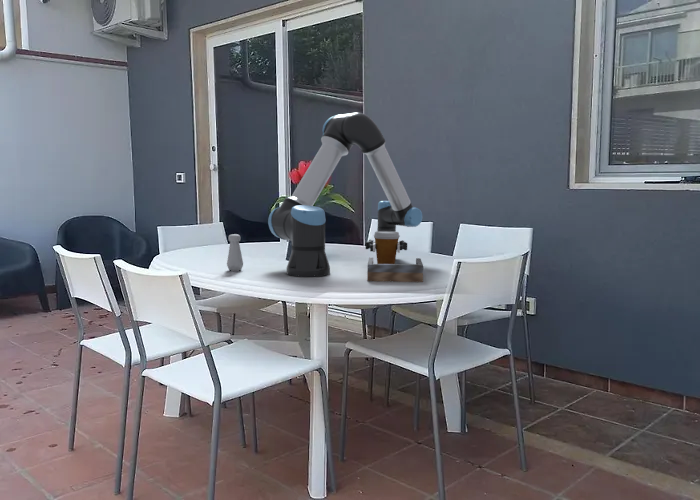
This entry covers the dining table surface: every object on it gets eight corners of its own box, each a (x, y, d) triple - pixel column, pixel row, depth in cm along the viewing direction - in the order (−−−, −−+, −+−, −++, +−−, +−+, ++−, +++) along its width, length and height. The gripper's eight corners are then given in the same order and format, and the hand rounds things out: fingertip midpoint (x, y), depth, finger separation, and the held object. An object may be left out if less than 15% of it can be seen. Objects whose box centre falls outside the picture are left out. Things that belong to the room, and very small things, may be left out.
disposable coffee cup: (397, 267, 213) (398, 233, 212) (370, 266, 215) (371, 232, 214) (400, 263, 223) (401, 231, 221) (375, 262, 225) (375, 230, 223)
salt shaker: (246, 269, 217) (246, 234, 215) (237, 272, 212) (236, 235, 210) (233, 268, 219) (232, 233, 218) (223, 271, 214) (222, 234, 212)
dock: (367, 281, 196) (367, 264, 195) (368, 273, 212) (368, 257, 211) (422, 282, 195) (423, 265, 194) (420, 273, 211) (420, 258, 210)
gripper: (412, 251, 236) (415, 259, 213) (359, 250, 237) (356, 258, 215) (413, 232, 235) (416, 238, 212) (359, 231, 236) (357, 237, 214)
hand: (386, 248), depth 214 cm, fingers closed on disposable coffee cup, 8 cm apart
